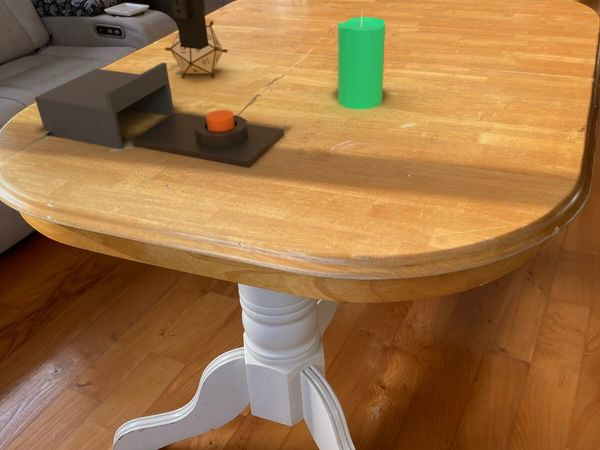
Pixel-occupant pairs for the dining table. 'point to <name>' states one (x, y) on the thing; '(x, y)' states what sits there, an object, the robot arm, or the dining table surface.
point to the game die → (198, 55)
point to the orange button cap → (220, 120)
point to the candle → (361, 62)
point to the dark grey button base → (209, 139)
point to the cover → (103, 104)
